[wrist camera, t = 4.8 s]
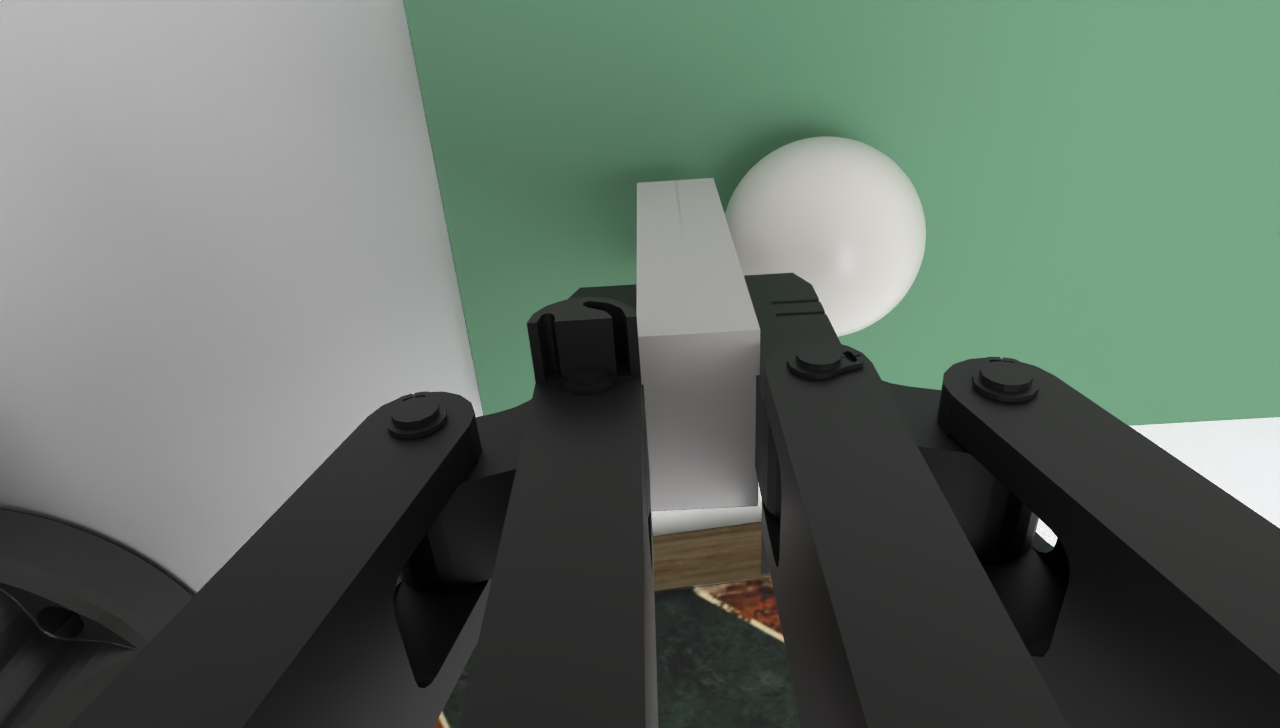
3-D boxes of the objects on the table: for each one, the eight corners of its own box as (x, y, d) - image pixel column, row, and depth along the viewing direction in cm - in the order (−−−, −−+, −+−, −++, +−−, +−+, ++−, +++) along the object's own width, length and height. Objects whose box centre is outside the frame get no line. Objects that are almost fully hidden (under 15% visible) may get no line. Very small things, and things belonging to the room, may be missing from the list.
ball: (713, 295, 18) (733, 380, 15) (711, 123, 16) (732, 175, 13) (881, 284, 18) (942, 368, 15) (900, 110, 16) (974, 158, 13)
